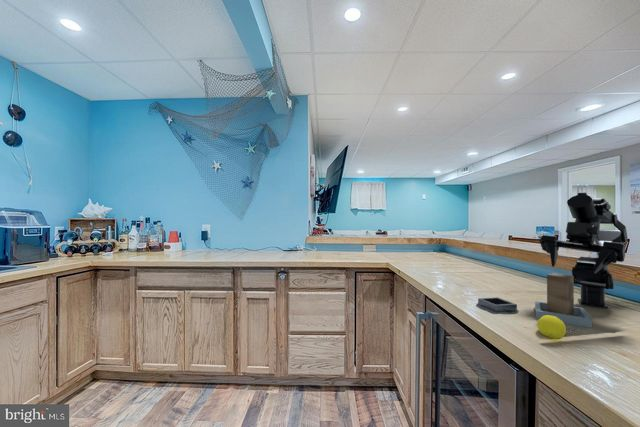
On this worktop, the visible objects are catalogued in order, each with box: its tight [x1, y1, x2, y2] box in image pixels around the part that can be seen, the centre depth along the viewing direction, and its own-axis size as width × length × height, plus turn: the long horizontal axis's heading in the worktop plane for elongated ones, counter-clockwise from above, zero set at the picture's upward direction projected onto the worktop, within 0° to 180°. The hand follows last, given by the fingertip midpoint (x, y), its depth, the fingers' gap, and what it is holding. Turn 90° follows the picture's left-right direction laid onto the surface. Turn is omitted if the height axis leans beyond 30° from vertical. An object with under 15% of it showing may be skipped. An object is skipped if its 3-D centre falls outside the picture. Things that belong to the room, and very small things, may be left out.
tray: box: [534, 300, 593, 329], centre depth 78 cm, size 11×11×3 cm
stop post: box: [546, 272, 575, 316], centre depth 78 cm, size 4×4×12 cm
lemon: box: [536, 315, 567, 340], centre depth 66 cm, size 7×5×5 cm
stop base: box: [476, 296, 520, 315], centre depth 85 cm, size 11×11×3 cm
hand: (572, 269), depth 82 cm, fingers open, 9 cm apart
